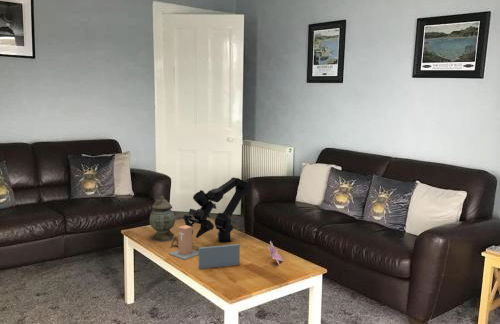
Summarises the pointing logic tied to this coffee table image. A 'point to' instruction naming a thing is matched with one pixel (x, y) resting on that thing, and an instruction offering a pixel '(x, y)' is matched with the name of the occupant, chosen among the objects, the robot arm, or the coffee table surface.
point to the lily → (274, 253)
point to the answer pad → (184, 257)
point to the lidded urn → (162, 220)
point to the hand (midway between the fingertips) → (190, 235)
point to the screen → (219, 256)
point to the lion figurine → (177, 239)
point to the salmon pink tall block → (185, 239)
